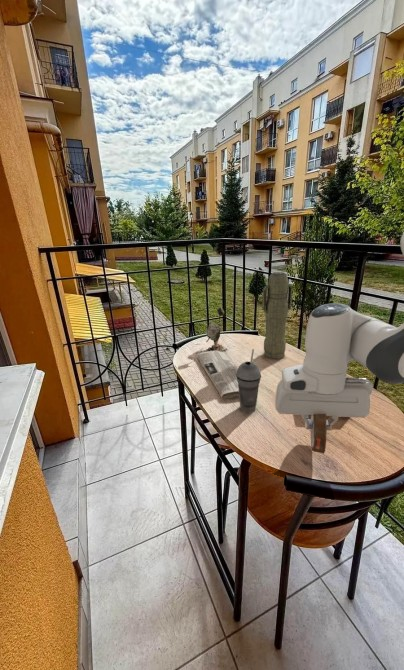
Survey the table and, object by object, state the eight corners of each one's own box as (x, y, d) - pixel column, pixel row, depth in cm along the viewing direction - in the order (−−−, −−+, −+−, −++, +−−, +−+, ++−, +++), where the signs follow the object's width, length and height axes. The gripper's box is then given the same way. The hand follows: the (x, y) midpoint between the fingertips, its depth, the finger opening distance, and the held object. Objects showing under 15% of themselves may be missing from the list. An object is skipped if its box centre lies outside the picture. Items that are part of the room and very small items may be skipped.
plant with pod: (216, 343, 136) (215, 303, 129) (229, 351, 127) (229, 308, 120) (201, 347, 132) (199, 306, 125) (214, 355, 123) (213, 311, 116)
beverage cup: (241, 399, 90) (242, 342, 83) (263, 405, 87) (266, 346, 80) (231, 411, 84) (231, 351, 77) (254, 418, 81) (256, 355, 74)
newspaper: (196, 357, 121) (196, 350, 120) (223, 353, 124) (223, 346, 123) (223, 401, 89) (223, 392, 88) (258, 395, 92) (259, 385, 91)
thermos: (256, 353, 123) (259, 272, 111) (280, 349, 126) (285, 270, 114) (266, 361, 115) (270, 275, 103) (291, 357, 118) (298, 273, 106)
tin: (323, 462, 61) (330, 431, 58) (308, 458, 62) (314, 427, 59) (321, 420, 74) (326, 392, 71) (308, 417, 75) (313, 390, 72)
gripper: (368, 371, 63) (359, 422, 68) (275, 369, 67) (273, 417, 71) (380, 385, 57) (370, 440, 62) (277, 382, 61) (275, 434, 66)
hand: (317, 428), depth 67 cm, fingers closed on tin, 3 cm apart
